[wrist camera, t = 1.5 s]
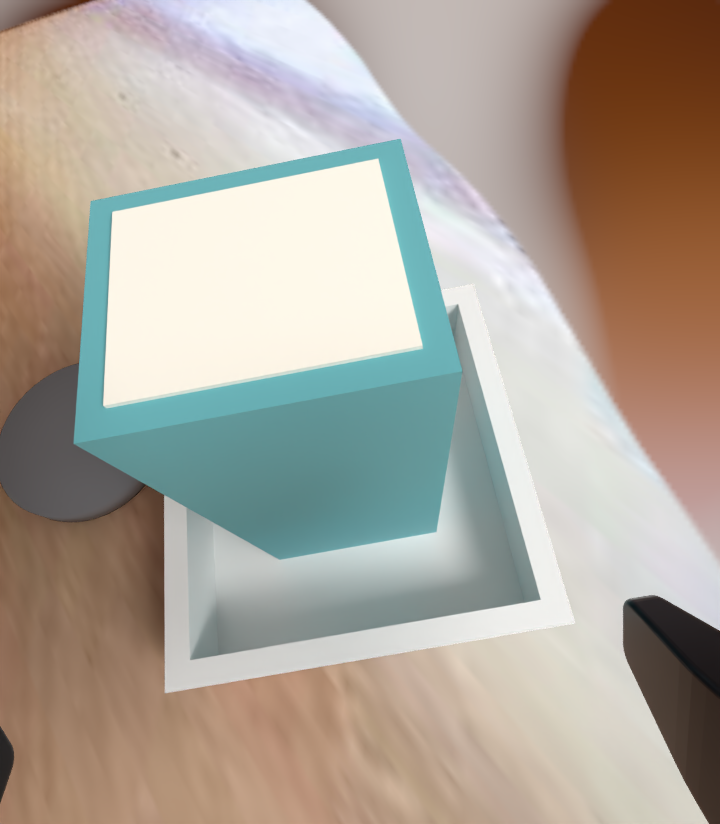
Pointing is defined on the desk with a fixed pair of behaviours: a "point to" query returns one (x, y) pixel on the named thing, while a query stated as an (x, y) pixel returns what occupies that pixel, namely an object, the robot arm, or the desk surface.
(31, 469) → the charcoal coaster
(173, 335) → the teal carton
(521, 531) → the white tray
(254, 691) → the desk surface
